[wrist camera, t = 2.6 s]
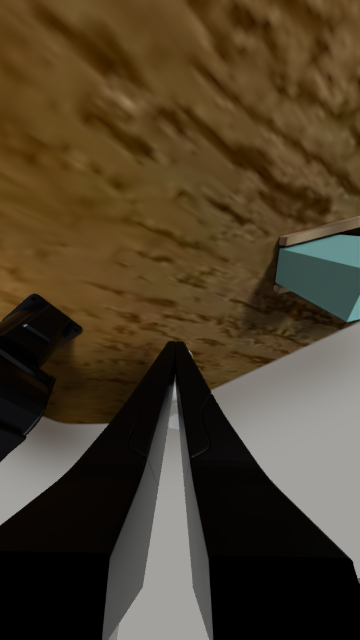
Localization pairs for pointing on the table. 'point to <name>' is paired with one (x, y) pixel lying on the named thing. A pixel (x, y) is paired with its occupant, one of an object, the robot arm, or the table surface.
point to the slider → (324, 273)
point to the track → (316, 233)
